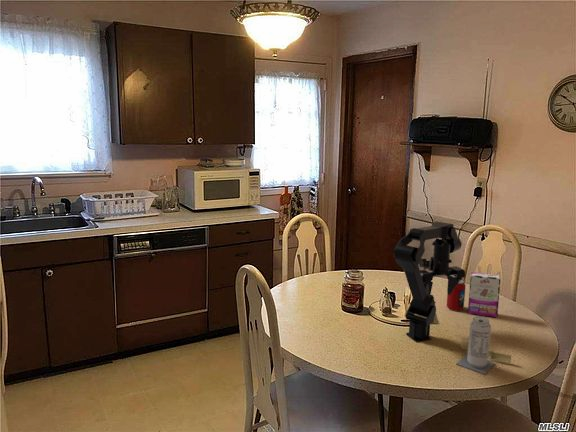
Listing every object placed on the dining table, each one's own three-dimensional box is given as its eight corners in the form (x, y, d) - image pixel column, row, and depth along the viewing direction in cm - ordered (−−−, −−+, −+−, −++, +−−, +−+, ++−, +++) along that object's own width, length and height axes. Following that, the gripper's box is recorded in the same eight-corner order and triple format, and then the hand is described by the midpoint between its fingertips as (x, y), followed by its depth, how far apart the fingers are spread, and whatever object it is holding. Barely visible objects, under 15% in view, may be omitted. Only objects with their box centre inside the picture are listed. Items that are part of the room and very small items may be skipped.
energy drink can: (488, 362, 153) (492, 318, 150) (485, 370, 148) (490, 325, 145) (468, 357, 156) (472, 314, 153) (465, 365, 150) (469, 321, 147)
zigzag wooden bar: (458, 349, 162) (459, 341, 161) (463, 346, 165) (463, 337, 164) (508, 366, 151) (509, 357, 151) (512, 362, 154) (513, 353, 153)
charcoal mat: (484, 374, 146) (484, 373, 146) (456, 364, 152) (456, 363, 152) (495, 364, 153) (495, 362, 152) (467, 354, 159) (467, 353, 158)
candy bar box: (497, 313, 193) (501, 274, 189) (497, 318, 188) (501, 278, 185) (467, 309, 197) (471, 271, 193) (467, 313, 192) (470, 274, 189)
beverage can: (464, 312, 194) (467, 284, 191) (447, 310, 195) (449, 283, 193) (462, 306, 200) (464, 278, 198) (445, 304, 201) (447, 277, 199)
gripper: (448, 248, 186) (445, 286, 189) (407, 252, 180) (405, 291, 183) (467, 255, 175) (464, 295, 178) (424, 260, 169) (422, 301, 172)
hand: (438, 295), depth 178 cm, fingers open, 9 cm apart
